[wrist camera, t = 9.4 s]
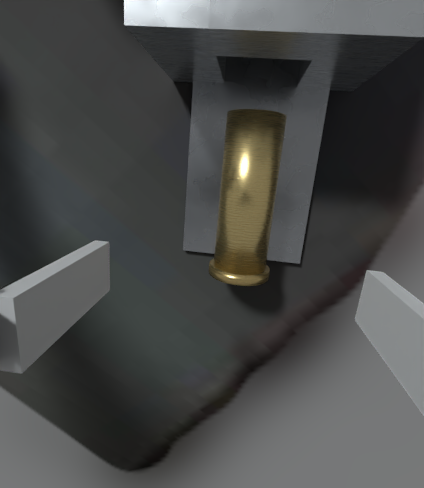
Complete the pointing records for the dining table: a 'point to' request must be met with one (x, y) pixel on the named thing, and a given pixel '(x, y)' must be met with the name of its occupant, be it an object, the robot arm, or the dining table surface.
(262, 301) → the dining table surface
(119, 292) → the dining table surface
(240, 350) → the dining table surface
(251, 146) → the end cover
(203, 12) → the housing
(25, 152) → the dining table surface
